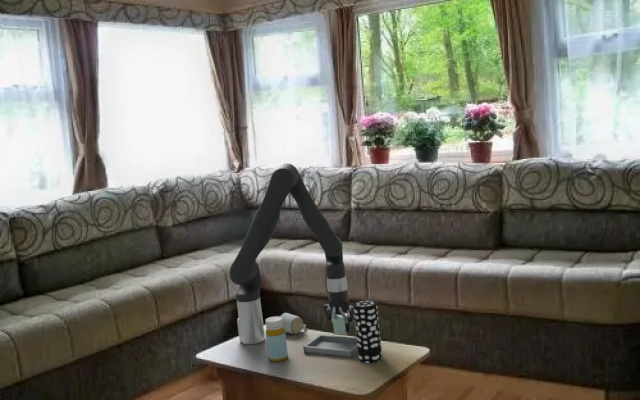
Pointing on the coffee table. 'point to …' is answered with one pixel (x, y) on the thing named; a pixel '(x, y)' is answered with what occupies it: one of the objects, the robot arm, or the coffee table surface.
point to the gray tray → (332, 346)
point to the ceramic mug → (292, 323)
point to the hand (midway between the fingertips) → (342, 331)
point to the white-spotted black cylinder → (367, 331)
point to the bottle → (276, 339)
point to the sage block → (339, 325)
